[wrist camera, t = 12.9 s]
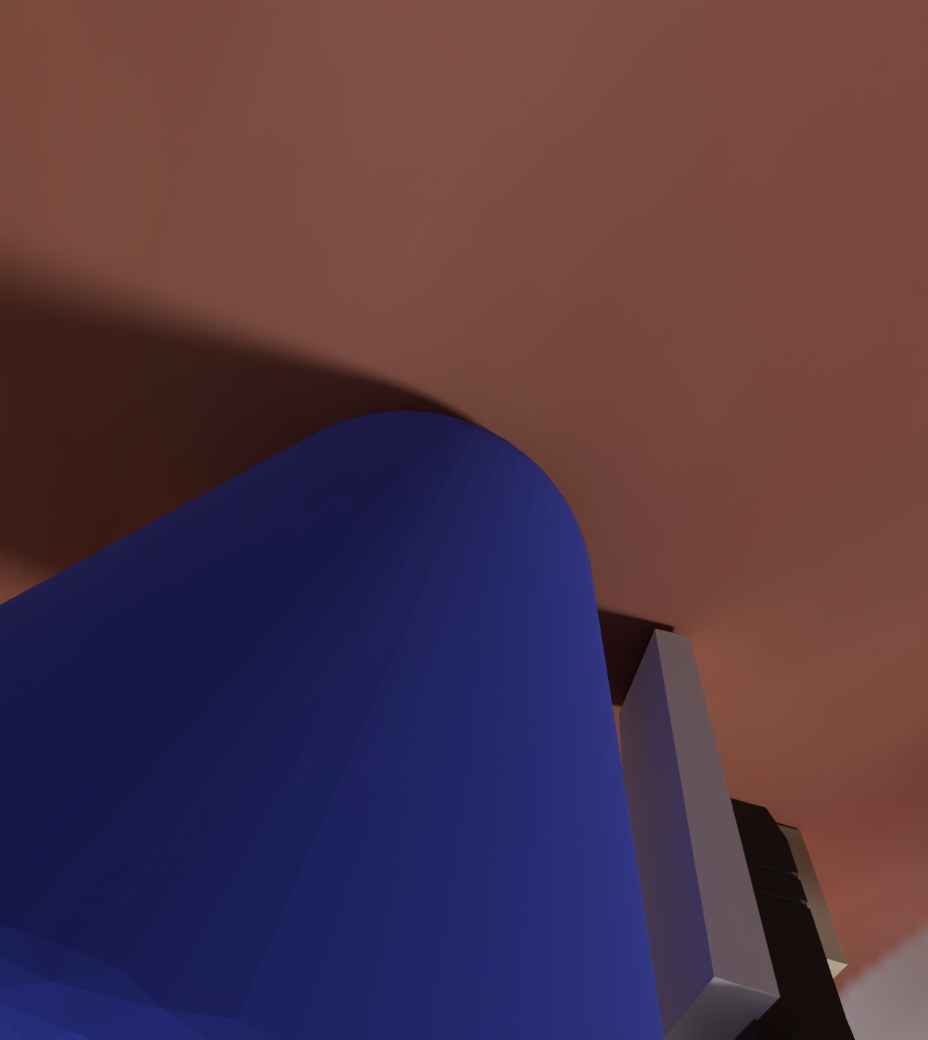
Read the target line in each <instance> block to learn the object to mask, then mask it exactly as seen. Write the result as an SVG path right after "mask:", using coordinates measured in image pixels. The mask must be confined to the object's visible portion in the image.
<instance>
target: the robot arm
mask: <svg viewBox="0 0 928 1040" xmlns="http://www.w3.org/2000/svg"><path fill="white" fill-rule="evenodd" d="M619 723H620V739H621V754H622V769H623V777H624V784H625V790H626V796H627V803H628V809H629V816H630V822H631V828H632V835H633V841H634V848H635V854H636V860H637V867H638V873H639V880H640V886H641V892H642V899H643V905H644V912H645V918H646V924H647V931H648V937H649V944H650V950H651V956H652V963H653V969H654V976H655V982H656V988H657V995H658V1001H659V1008H660V1014H661V1020H662V1027H663V1033H664V1040H855V1039H854V1036H853V1034H852V1031H851V1029H850V1026H849V1025H848V1022H847V1020H846V1017H845V1013H844V1010H843V1007H842V1004H841V1001H840V998H839V995H838V992H837V989H836V986H835V983H834V980H833V977H832V974H831V971H830V968H829V965H828V962H827V958H826V955H825V952H824V949H823V946H822V943H821V940H820V937H819V934H818V931H817V928H816V925H815V922H814V919H813V916H812V913H811V910H810V908H808V907H807V902H808V901H807V898H806V895H805V891H804V888H803V885H802V882H801V880H799V879H798V870H797V867H796V864H795V861H794V858H793V855H792V852H791V849H790V846H789V843H788V840H787V838H786V837H785V835H784V834H783V832H782V831H781V829H780V828H779V826H778V825H777V823H776V822H775V820H774V819H773V818H772V816H771V815H770V813H769V812H768V810H767V809H766V808H765V807H761V806H758V805H754V804H750V803H747V802H743V801H739V800H736V799H732V798H730V796H729V792H728V788H727V784H726V780H725V776H724V772H723V768H722V764H721V760H720V756H719V752H718V748H717V744H716V740H715V736H714V732H713V728H712V724H711V720H710V716H709V712H708V708H707V704H706V700H705V696H704V692H703V688H702V684H701V680H700V676H699V672H698V668H697V664H696V660H695V656H694V653H693V649H692V645H691V641H690V637H687V636H683V635H679V634H675V633H671V632H667V631H663V630H659V629H655V630H654V632H653V634H652V637H651V639H650V642H649V644H648V646H647V649H646V651H645V653H644V656H643V658H642V660H641V663H640V665H639V668H638V670H637V672H636V675H635V677H634V679H633V682H632V684H631V687H630V689H629V691H628V694H627V696H626V698H625V701H624V703H623V706H622V708H621V710H620V713H619Z"/></svg>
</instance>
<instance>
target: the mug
mask: <svg viewBox="0 0 928 1040" xmlns="http://www.w3.org/2000/svg"><path fill="white" fill-rule="evenodd" d="M0 1040H664V1033H663V1027H662V1020H661V1014H660V1008H659V1001H658V995H657V988H656V982H655V976H654V969H653V963H652V956H651V950H650V944H649V937H648V931H647V924H646V918H645V912H644V905H643V899H642V892H641V886H640V880H639V873H638V867H637V860H636V854H635V848H634V841H633V835H632V828H631V822H630V816H629V809H628V803H627V796H626V790H625V784H624V777H623V771H622V764H621V758H620V752H619V745H618V739H617V732H616V726H615V720H614V713H613V707H612V700H611V694H610V688H609V681H608V675H607V668H606V662H605V656H604V649H603V643H602V636H601V630H600V624H599V617H598V611H597V604H596V598H595V592H594V585H593V579H592V572H591V566H590V562H589V557H588V553H587V549H586V545H585V542H584V539H583V537H582V534H581V531H580V529H579V526H578V523H577V521H576V519H575V517H574V515H573V513H572V511H571V509H570V507H569V506H568V504H567V502H566V501H565V499H564V497H563V496H562V494H561V493H560V492H559V490H558V489H557V487H556V486H555V484H554V483H553V482H552V481H551V480H550V478H549V477H548V476H547V475H546V474H545V473H544V471H543V470H542V469H541V468H540V467H539V466H538V465H537V464H536V463H535V462H534V461H532V460H531V459H530V458H529V457H528V456H527V455H525V454H524V453H523V452H521V451H520V450H519V449H517V448H516V447H515V446H514V445H512V444H511V443H510V442H508V441H507V440H505V439H503V438H501V437H499V436H498V435H496V434H494V433H492V432H491V431H489V430H486V429H484V428H482V427H480V426H478V425H475V424H473V423H470V422H467V421H464V420H461V419H458V418H454V417H451V416H446V415H442V414H437V413H429V412H421V411H392V412H380V413H374V414H369V415H364V416H359V417H355V418H352V419H348V420H345V421H342V422H339V423H337V424H334V425H332V426H330V427H327V428H325V429H323V430H321V431H319V432H316V433H314V434H312V435H311V436H309V437H307V438H305V439H303V440H301V441H300V442H298V443H296V444H294V445H292V446H290V447H289V448H287V449H285V450H283V451H281V452H279V453H278V454H276V455H274V456H272V457H270V458H268V459H267V460H265V461H263V462H261V463H259V464H257V465H256V466H254V467H252V468H250V469H248V470H246V471H245V472H243V473H241V474H239V475H237V476H236V477H234V478H232V479H230V480H228V481H226V482H225V483H223V484H221V485H219V486H217V487H215V488H214V489H212V490H210V491H208V492H206V493H204V494H203V495H201V496H199V497H197V498H195V499H193V500H192V501H190V502H188V503H186V504H184V505H182V506H181V507H179V508H177V509H175V510H173V511H171V512H170V513H168V514H166V515H164V516H162V517H160V518H159V519H157V520H155V521H153V522H151V523H149V524H148V525H146V526H144V527H142V528H140V529H138V530H137V531H135V532H133V533H131V534H129V535H127V536H126V537H124V538H122V539H120V540H118V541H117V542H115V543H113V544H111V545H109V546H107V547H106V548H104V549H102V550H100V551H98V552H96V553H95V554H93V555H91V556H89V557H87V558H85V559H84V560H82V561H80V562H78V563H76V564H74V565H73V566H71V567H69V568H67V569H65V570H63V571H62V572H60V573H58V574H56V575H54V576H52V577H51V578H49V579H47V580H45V581H43V582H41V583H40V584H38V585H36V586H34V587H32V588H30V589H29V590H27V591H25V592H23V593H21V594H19V595H18V596H16V597H14V598H12V599H10V600H9V601H7V602H5V603H3V604H1V605H0Z"/></svg>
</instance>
